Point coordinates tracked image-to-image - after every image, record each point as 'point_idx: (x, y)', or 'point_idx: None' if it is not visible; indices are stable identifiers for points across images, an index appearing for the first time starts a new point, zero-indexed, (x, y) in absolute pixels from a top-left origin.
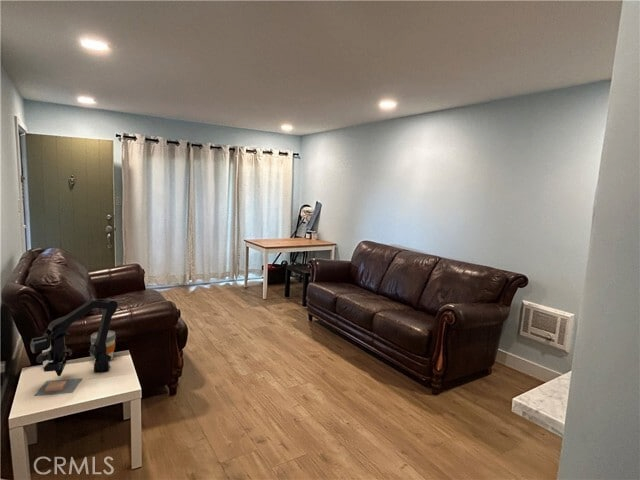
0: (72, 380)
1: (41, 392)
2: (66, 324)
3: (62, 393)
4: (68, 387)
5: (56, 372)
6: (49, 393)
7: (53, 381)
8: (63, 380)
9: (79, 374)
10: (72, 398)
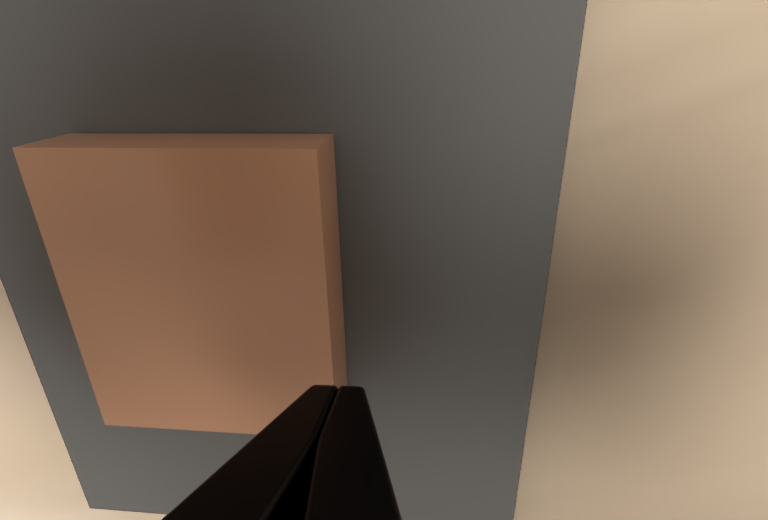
0: (459, 440)
1: (32, 69)
2: None
3: (54, 410)
4: (225, 440)
5: (199, 498)
6: (24, 235)
7: (504, 130)
8: (497, 311)
9: (709, 462)
10: (7, 507)
